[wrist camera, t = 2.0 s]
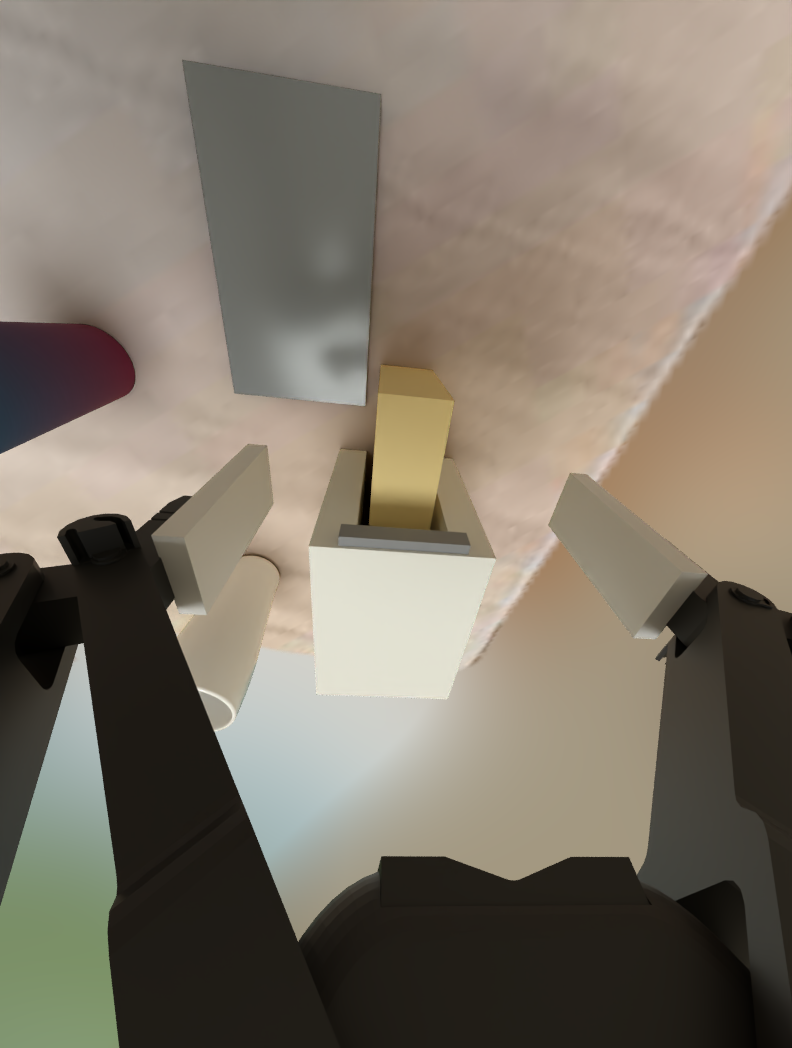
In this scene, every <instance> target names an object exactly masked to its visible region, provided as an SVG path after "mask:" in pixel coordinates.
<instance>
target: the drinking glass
mask: <svg viewBox="0 0 792 1048" xmlns="http://www.w3.org/2000/svg"><path fill="white" fill-rule="evenodd" d="M279 580H280V576H279V572H278V570H277V568H276V567H275V566H274V565H273V564H272V563H271V562H270V561H268V560H266V559H264V558H262V557H258V556H243V557H241V559H240V560H239V562H238V564H237V565H236V567H235V569H234V570H233V572H232V574H231V575H230V577H229V579H228V580H227V582H226V584H225V586H224V587H223V589H222V591H221V592H220V594H219V596H218V597H217V599H216V601H215V602H214V604H213V606H212V607H211V609H210V611H209V612H208V614H207V615H196V614H194V615H193V617H192V618H191V619H190V621H189V622H188V623H187V625H186V626H185V627H184V628H183V630H182V631H181V632H180V634H179V635H178V636H177V639H178V641H179V644H180V646H181V649H182V651H183V654H184V656H185V659H186V661H187V664H188V666H189V669H190V672H191V674H192V677H193V679H194V682H195V684H196V687H197V689H198V692H199V694H200V697H201V699H202V702H203V704H204V707H205V709H206V712H207V714H208V717H209V719H210V722H211V725H212V727H213V730H214V732H215V731H219V730H222V729H225V728H227V727H228V726H230V725H231V724H232V723H233V722H234V720H235V718H236V716H237V714H238V711H239V709H240V707H241V704H242V702H243V699H244V697H245V695H246V692H247V689H248V687H249V684H250V681H251V678H252V675H253V672H254V669H255V666H256V662H257V658H258V655H259V651H260V647H261V644H262V640H263V636H264V632H265V628H266V625H267V621H268V617H269V613H270V610H271V606H272V602H273V599H274V595H275V592H276V590H277V587H278V584H279Z"/></svg>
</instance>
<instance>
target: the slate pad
mask: <svg viewBox="0 0 792 1048" xmlns="http://www.w3.org/2000/svg"><path fill="white" fill-rule="evenodd" d="M182 62H183V68H184V75H185V81H186V87H187V94H188V100H189V107H190V113H191V119H192V126H193V132H194V138H195V145H196V151H197V158H198V164H199V170H200V177H201V183H202V189H203V196H204V202H205V209H206V215H207V221H208V228H209V234H210V240H211V247H212V253H213V260H214V266H215V272H216V279H217V285H218V291H219V298H220V304H221V311H222V317H223V323H224V330H225V336H226V342H227V349H228V355H229V362H230V368H231V374H232V381H233V387H234V393H236V394H246V395H256V396H266V397H277V398H287V399H297V400H307V401H317V402H327V403H337V404H347V405H357V406H365V404H366V386H367V367H368V347H369V327H370V308H371V288H372V268H373V248H374V229H375V209H376V189H377V170H378V150H379V130H380V110H381V94H378V93H372V92H366V91H360V90H354V89H349V88H343V87H337V86H331V85H325V84H320V83H314V82H308V81H302V80H296V79H290V78H285V77H279V76H273V75H267V74H261V73H256V72H250V71H244V70H238V69H232V68H227V67H221V66H215V65H209V64H203V63H198V62H192V61H186V60H182Z"/></svg>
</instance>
